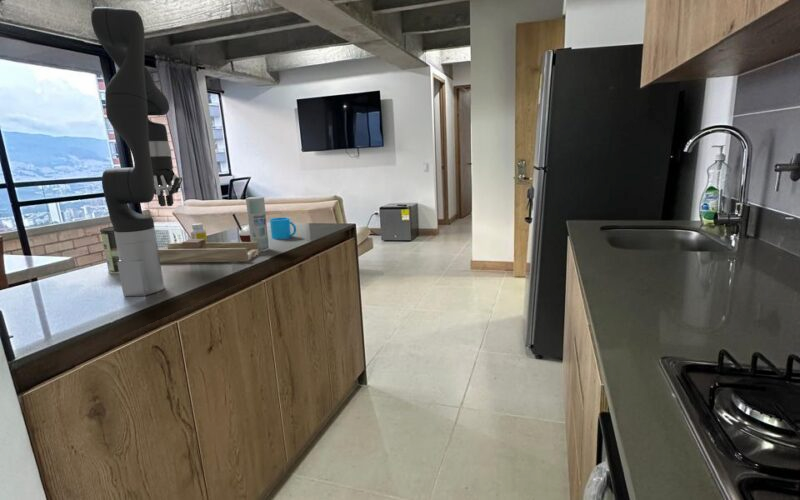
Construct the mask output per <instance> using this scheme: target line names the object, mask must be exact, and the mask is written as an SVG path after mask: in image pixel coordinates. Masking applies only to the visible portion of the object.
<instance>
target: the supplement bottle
mask: <svg viewBox="0 0 800 500" xmlns="http://www.w3.org/2000/svg"><path fill="white" fill-rule="evenodd" d="M190 237H191V238H190V239H205V240H206V243H208V238H207V232H206V229H205V228H204V224H203V223H192V224H191V230H190Z"/></svg>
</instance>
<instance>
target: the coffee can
mask: <svg viewBox="0 0 800 500" xmlns="http://www.w3.org/2000/svg"><path fill="white" fill-rule="evenodd" d="M99 232H100V233H101V239H102V244H103V250H104V254H105V260H106V264H107V265H106V266H107V269H108V270H107V271H108V274H112V275H120V274H119V269H118V264H117V262H118V261H119V256H118V250H117V245H116V239H115V234H114V229H113V226H109V227H108V226H107V227H103V228H101V229H100V230H99Z"/></svg>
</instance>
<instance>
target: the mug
mask: <svg viewBox="0 0 800 500" xmlns="http://www.w3.org/2000/svg"><path fill="white" fill-rule="evenodd" d="M269 224H270V234H271V239H272V240H287V239H289V238H291V237H293V236H294V235H295V234H296V232H297V226H296V225H295V223H294V222H292V221H291V219H290V218H289V217H274V218H270V219H269ZM291 226H292V228H293V232H291Z"/></svg>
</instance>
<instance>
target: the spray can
mask: <svg viewBox="0 0 800 500" xmlns="http://www.w3.org/2000/svg"><path fill="white" fill-rule="evenodd" d="M245 204H246V212H247V221H248V227H249V230H250V238H251V242H258V244H259V253H261V251H263V252H266V250H267V251H269V250H270V247H269V236H268V226H267V225H268V223H267V216H266V214H267V213H266V206H265V205H266V204H265V196H252V197H251V196H250V197H246V198H245Z"/></svg>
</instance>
